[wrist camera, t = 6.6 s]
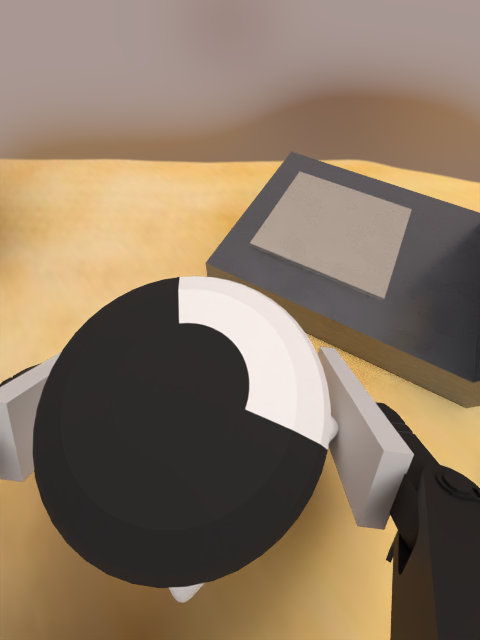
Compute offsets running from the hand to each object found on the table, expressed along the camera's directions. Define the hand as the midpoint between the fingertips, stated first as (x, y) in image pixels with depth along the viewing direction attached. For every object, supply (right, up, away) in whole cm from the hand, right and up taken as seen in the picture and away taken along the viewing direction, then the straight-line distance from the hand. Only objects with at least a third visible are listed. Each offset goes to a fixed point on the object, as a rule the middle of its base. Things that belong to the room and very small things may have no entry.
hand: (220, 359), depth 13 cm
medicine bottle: (-1, -5, +2) cm, 5 cm away
